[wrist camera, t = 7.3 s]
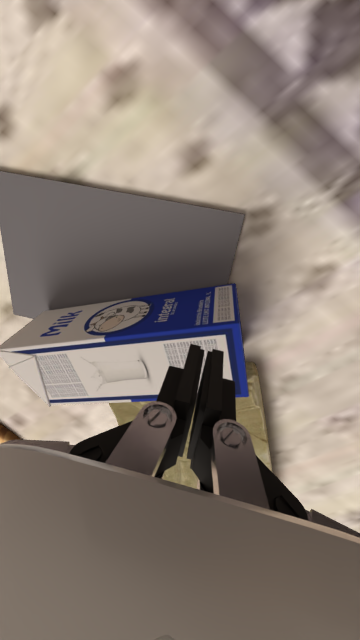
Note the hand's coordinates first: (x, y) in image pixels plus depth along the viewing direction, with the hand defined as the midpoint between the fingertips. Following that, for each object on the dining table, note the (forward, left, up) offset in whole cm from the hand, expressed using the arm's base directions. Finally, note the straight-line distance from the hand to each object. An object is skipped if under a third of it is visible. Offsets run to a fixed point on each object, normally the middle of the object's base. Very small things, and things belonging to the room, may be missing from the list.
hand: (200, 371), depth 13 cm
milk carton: (-3, +2, -8) cm, 9 cm away
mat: (+10, 0, -12) cm, 16 cm away
